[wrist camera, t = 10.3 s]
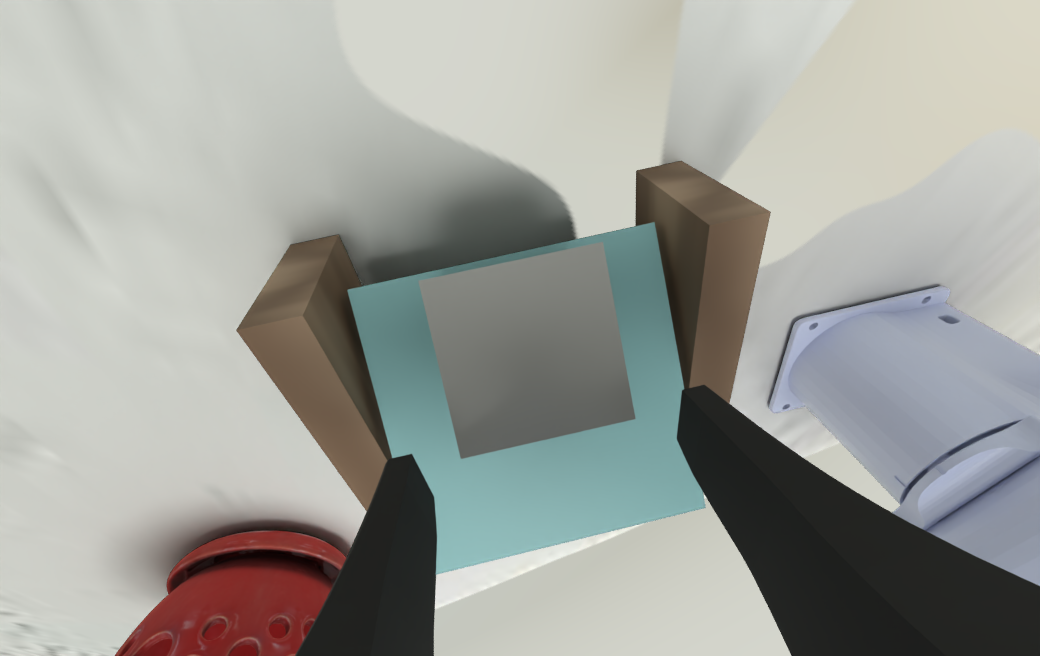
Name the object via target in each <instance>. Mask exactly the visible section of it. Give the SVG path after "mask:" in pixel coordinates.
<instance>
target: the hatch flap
mask: <svg viewBox="0 0 1040 656" xmlns="http://www.w3.org/2000/svg"><path fill="white" fill-rule="evenodd" d="M600 242H603V245H604V251H605V256H606V262H607V267H608V272H609V278H610V283H611V289H612V294H613V299H614V305H615V310H616V315H617V321H618V326H619V332H620V337H621V342H622V348H623V353H624V359H625V364H626V369H627V375H628V380H629V386H630V391H631V396H632V402H633V407H634V412H635V418H636V419H634V420H630V421H625V422H621V423H616V424H612V425H608V426H603V427H599V428H595V429H590V430H586V431H581V432H577V433H573V434H568V435H564V436H560V437H555V438H551V439H547V440H542V441H538V442H533V443H529V444H525V445H520V446H516V447H512V448H507V449H503V450H499V451H494V452H490V453H485V454H481V455H477V456H472V457H468V458H464V459H461V458H460V453H459V449H458V445H457V441H456V437H455V433H454V428H453V424H452V420H451V416H450V412H449V407H448V403H447V399H446V395H445V391H444V387H443V382H442V378H441V374H440V370H439V366H438V361H437V357H436V353H435V349H434V345H433V340H432V336H431V332H430V328H429V324H428V320H427V315H426V311H425V307H424V303H423V299H422V294H421V290H420V286H419V282H418V281H420V280H425V279H430V278H434V277H439V276H444V275H448V274H453V273H458V272H463V271H467V270H472V269H477V268H482V267H486V266H491V265H496V264H500V263H505V262H510V261H515V260H519V259H524V258H529V257H533V256H538V255H543V254H548V253H552V252H557V251H562V250H567V249H571V248H576V247H581V246H585V245H590V244H595V243H600ZM347 291H348V295H349V298H350V302H351V306H352V310H353V313H354V317H355V321H356V324H357V328H358V332H359V336H360V339H361V343H362V347H363V351H364V354H365V358H366V362H367V365H368V369H369V373H370V377H371V380H372V384H373V388H374V391H375V395H376V399H377V403H378V406H379V410H380V414H381V418H382V421H383V425H384V429H385V432H386V436H387V440H388V444H389V447H390V451H391V455H392V458H396V457H400V456H404V455H408V454H412V455H413V457H414V459H415V461H416V462H417V464H418V466H419V468H420V470H421V472H422V474H423V476H424V478H425V480H426V482H427V484H428V486H429V488H430V490H431V492H432V494H433V496H434V500H435V513H436V527H437V558H436V574H440V573H444V572H448V571H452V570H456V569H460V568H464V567H468V566H473V565H477V564H481V563H485V562H489V561H493V560H497V559H501V558H505V557H509V556H513V555H517V554H521V553H525V552H529V551H533V550H537V549H541V548H545V547H549V546H553V545H557V544H561V543H565V542H569V541H574V540H578V539H582V538H586V537H590V536H594V535H598V534H602V533H606V532H610V531H614V530H618V529H622V528H626V527H630V526H634V525H638V524H642V523H646V522H650V521H654V520H658V519H662V518H666V517H670V516H675V515H678V514H683V513H687V512H690V511H695V510H699V509H703V508H705V502H704V496H703V491H702V489H701V487H700V486H699V484H698V482H697V481H696V479H695V477H694V476H693V474H692V472H691V470H690V467H689V465H688V463H687V461H686V459H685V457H684V455H683V452H682V450H681V448H680V446H679V443H678V441H677V430H678V421H679V412H680V403H681V394H682V390H684V384H683V379H682V373H681V368H680V362H679V356H678V351H677V345H676V340H675V334H674V328H673V323H672V317H671V312H670V306H669V300H668V295H667V289H666V284H665V278H664V273H663V267H662V261H661V256H660V250H659V245H658V239H657V233H656V228H655V222H653V223H648V224H644V225H639V226H635V227H630V228H626V229H621V230H617V231H612V232H607V233H603V234H598V235H594V236H589V237H585V238H580V239H576V240H571V241H567V242H562V243H557V244H553V245H548V246H544V247H539V248H535V249H530V250H526V251H521V252H517V253H512V254H507V255H503V256H498V257H494V258H489V259H485V260H480V261H476V262H471V263H467V264H462V265H457V266H453V267H448V268H444V269H439V270H435V271H430V272H426V273H421V274H416V275H412V276H407V277H403V278H398V279H394V280H389V281H385V282H380V283H376V284H371V285H366V286H362V287H357V288H353V289H348V290H347Z"/></svg>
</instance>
